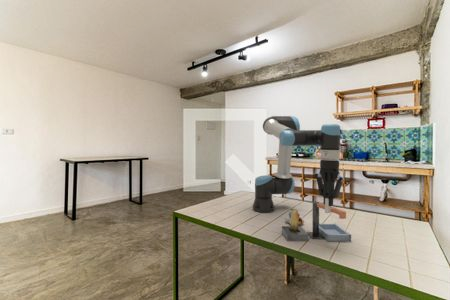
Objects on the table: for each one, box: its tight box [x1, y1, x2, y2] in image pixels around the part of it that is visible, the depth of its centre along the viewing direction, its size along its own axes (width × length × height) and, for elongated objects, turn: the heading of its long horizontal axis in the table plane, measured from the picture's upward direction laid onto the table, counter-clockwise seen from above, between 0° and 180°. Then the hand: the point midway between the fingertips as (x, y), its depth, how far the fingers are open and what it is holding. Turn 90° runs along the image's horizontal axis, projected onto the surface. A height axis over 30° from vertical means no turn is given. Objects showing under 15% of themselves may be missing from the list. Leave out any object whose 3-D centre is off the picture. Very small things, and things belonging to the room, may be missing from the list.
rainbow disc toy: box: [284, 211, 305, 226], centre depth 122 cm, size 8×10×7 cm
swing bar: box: [312, 201, 347, 220], centre depth 98 cm, size 3×18×3 cm, turn 20°
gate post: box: [306, 205, 325, 240], centre depth 105 cm, size 6×6×16 cm
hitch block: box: [281, 225, 309, 242], centre depth 106 cm, size 10×10×3 cm
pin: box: [290, 208, 299, 232], centre depth 105 cm, size 4×4×13 cm
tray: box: [319, 223, 352, 243], centre depth 106 cm, size 14×11×3 cm
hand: (327, 212), depth 94 cm, fingers closed
